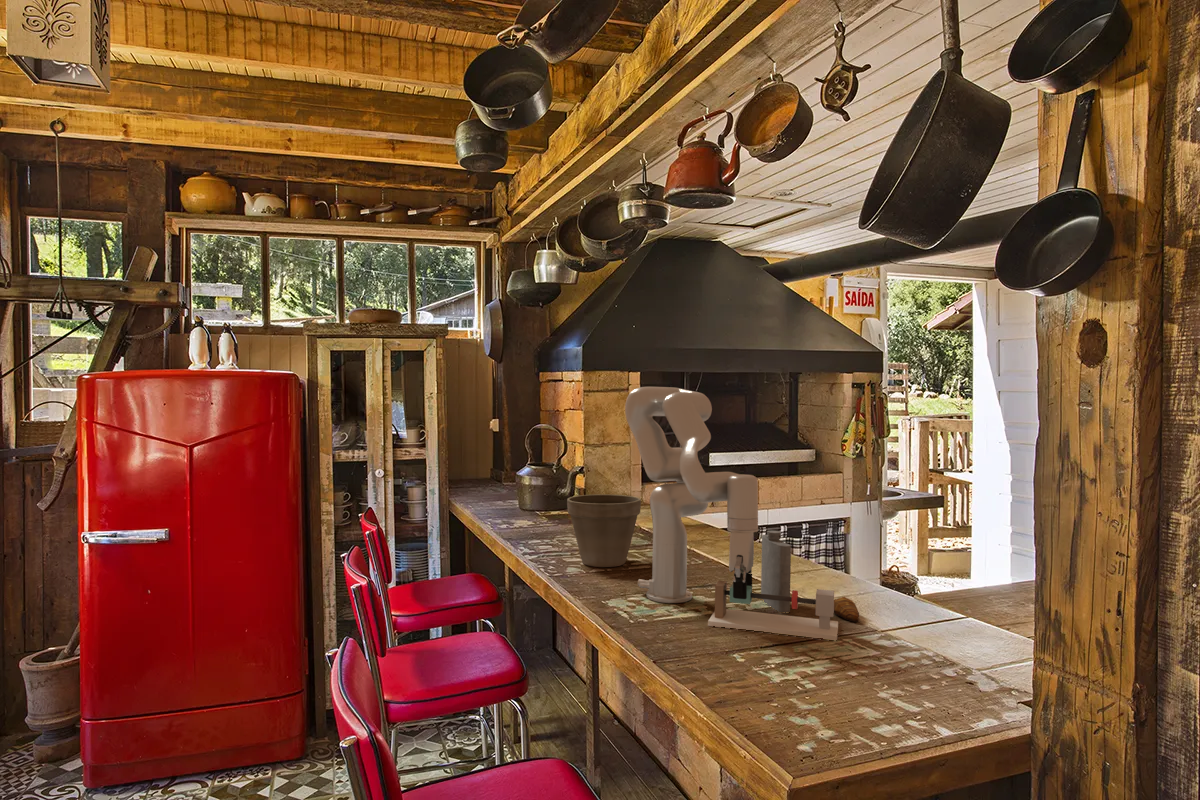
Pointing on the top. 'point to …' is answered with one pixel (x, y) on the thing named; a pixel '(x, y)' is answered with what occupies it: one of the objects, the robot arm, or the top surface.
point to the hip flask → (776, 570)
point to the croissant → (846, 609)
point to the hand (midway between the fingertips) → (742, 593)
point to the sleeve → (743, 601)
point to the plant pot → (603, 527)
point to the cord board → (778, 622)
